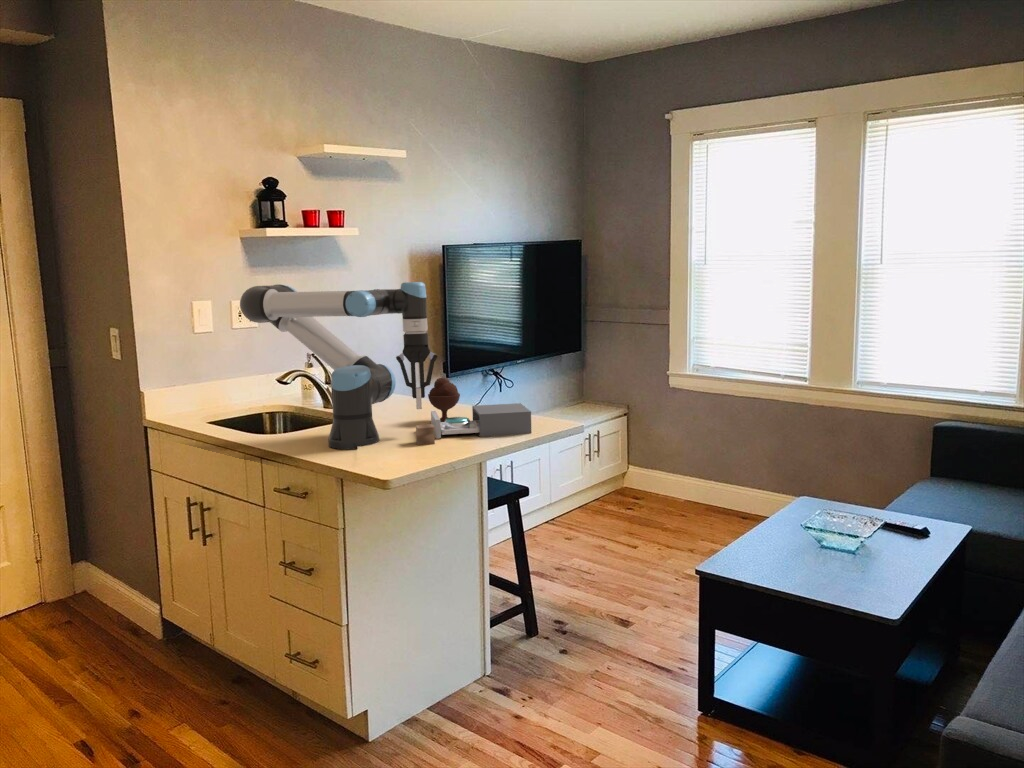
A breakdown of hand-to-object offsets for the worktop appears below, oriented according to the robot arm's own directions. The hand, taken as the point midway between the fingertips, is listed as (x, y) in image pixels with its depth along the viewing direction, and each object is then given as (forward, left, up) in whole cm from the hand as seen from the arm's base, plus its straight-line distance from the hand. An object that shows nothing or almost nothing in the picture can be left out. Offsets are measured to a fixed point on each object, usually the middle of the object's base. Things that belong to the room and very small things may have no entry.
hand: (419, 408), depth 257 cm
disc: (+12, 0, -7) cm, 14 cm away
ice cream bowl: (+10, +21, -9) cm, 24 cm away
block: (+1, -12, -8) cm, 15 cm away
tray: (+14, 0, -8) cm, 16 cm away
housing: (+26, 0, -8) cm, 27 cm away
